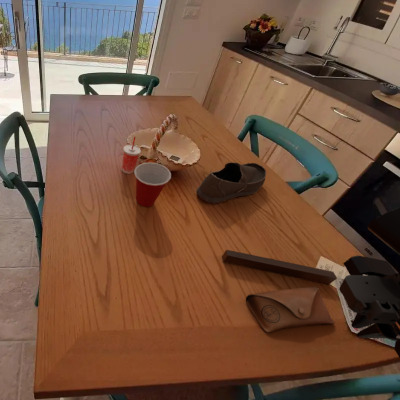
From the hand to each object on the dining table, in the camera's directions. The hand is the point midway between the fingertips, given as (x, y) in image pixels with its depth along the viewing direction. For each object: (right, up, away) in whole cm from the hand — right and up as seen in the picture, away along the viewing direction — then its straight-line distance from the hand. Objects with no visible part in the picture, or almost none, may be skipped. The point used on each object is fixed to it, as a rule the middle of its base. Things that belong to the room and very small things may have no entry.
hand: (356, 331), depth 47 cm
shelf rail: (+2, +5, +23) cm, 24 cm away
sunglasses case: (-1, -3, +15) cm, 15 cm away
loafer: (+5, +27, +48) cm, 55 cm away
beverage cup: (-31, +35, +53) cm, 71 cm away
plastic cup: (-28, +23, +41) cm, 54 cm away
